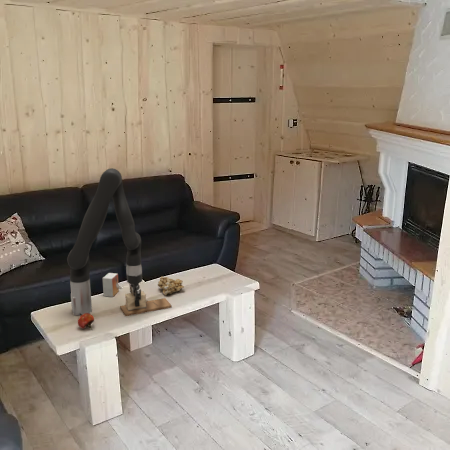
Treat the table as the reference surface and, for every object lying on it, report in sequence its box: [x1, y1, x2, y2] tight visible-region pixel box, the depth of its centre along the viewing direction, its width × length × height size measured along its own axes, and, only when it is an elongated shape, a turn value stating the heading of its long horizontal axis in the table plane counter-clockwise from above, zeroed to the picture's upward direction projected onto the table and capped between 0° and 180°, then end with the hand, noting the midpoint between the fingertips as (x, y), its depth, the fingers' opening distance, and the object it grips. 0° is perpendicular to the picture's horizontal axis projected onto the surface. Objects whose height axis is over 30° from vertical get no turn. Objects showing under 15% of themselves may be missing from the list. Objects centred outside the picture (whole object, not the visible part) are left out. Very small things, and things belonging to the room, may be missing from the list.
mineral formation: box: [157, 276, 185, 296], centre depth 267 cm, size 8×13×15 cm
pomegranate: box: [77, 313, 95, 330], centre depth 225 cm, size 7×7×10 cm
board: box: [119, 297, 172, 317], centre depth 246 cm, size 24×10×1 cm, turn 115°
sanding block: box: [124, 290, 147, 311], centre depth 243 cm, size 9×5×7 cm, turn 115°
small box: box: [102, 272, 120, 298], centre depth 262 cm, size 8×6×10 cm
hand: (135, 304), depth 244 cm, fingers closed on sanding block, 5 cm apart
